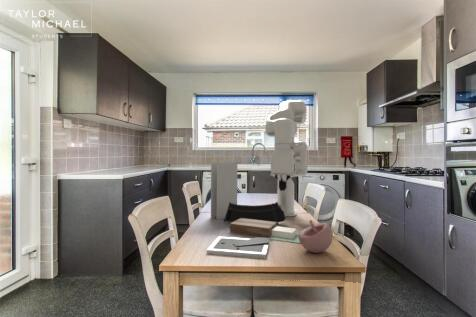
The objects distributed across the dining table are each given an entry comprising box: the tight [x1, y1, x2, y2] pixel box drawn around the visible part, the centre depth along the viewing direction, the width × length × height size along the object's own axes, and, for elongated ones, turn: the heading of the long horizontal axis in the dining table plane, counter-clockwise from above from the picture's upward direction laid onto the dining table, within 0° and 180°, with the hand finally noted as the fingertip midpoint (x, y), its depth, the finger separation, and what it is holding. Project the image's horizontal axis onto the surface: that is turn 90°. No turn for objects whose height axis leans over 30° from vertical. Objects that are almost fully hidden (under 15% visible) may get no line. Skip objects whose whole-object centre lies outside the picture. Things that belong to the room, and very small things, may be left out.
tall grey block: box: [210, 161, 238, 220], centre depth 155 cm, size 14×6×30 cm, turn 133°
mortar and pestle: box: [298, 219, 334, 254], centre depth 102 cm, size 12×12×11 cm
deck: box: [229, 218, 278, 238], centre depth 126 cm, size 12×18×4 cm, turn 66°
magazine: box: [223, 201, 287, 225], centre depth 141 cm, size 17×3×30 cm
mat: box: [269, 231, 301, 245], centre depth 120 cm, size 15×14×1 cm
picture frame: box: [206, 236, 271, 259], centre depth 105 cm, size 16×3×21 cm
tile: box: [271, 225, 297, 239], centre depth 121 cm, size 7×9×2 cm
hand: (282, 190), depth 122 cm, fingers closed
